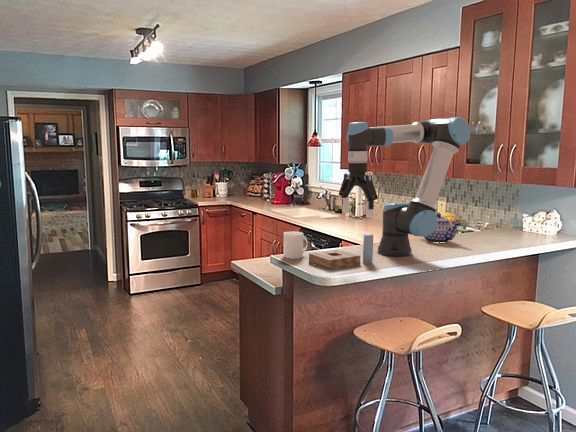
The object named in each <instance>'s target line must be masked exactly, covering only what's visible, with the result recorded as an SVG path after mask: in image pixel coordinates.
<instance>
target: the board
mask: <svg viewBox="0 0 576 432" xmlns="http://www.w3.org/2000/svg"><path fill="white" fill-rule="evenodd" d="M308 263H309V264H311V263H312V264H311V265H314V264H315V266H317V267H321V268H322V269H325V270H328V271H332V270H338V269H344V268H350V267H355V266H360V265H361V254H356V253H353V252H351V251H350V252H349V251H346V250H343V249H339V248H338V249H330V250H324V251H323V250H322V251H316V252H311V253H310V252H309V253H308Z"/></svg>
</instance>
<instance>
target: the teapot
mask: <svg viewBox="0 0 576 432" xmlns="http://www.w3.org/2000/svg"><path fill="white" fill-rule="evenodd" d="M435 214H436V215H437V220H438V223H437V227H436V229H435V230H434V232H433V233H431V234H430V235H428V236H425V237H423V238H424V239H425V240H426V242H427V241H429V242H428V243H430V242H439V243H440V242H449V241H452V240H453V239H455V236H456V235H457V234H456V233H457V229H458V227H459V226H460V225H461V223H460V222H455V223H454V224H452V223H451V222H450V221H449V218H448V217H444V216H442V214H441V213H440V212H438V213H435Z"/></svg>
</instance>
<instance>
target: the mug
mask: <svg viewBox="0 0 576 432" xmlns="http://www.w3.org/2000/svg"><path fill="white" fill-rule="evenodd" d="M304 240H305V242H306V246H305V247H304ZM308 244H309V243H308V238H307V236H305V235H304V232H302V231H284V232H283V257H284V258H285V257H286V258H285V259H287V258H290V259H289V260H299V258H300V259H302V258H303V257H304V253H305V252H306V251H307V249H308Z"/></svg>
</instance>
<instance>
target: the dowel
mask: <svg viewBox="0 0 576 432" xmlns="http://www.w3.org/2000/svg"><path fill="white" fill-rule="evenodd" d="M362 248H363V249H362V264H365V265H372V264H373V258H374V257H373V256H374V255H373V254H374V234H372V233H365V234H363V245H362Z"/></svg>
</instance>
